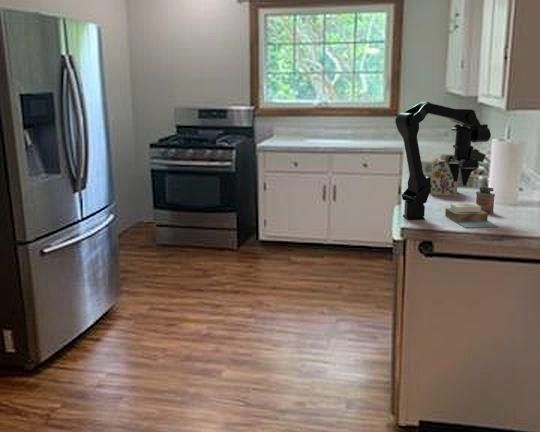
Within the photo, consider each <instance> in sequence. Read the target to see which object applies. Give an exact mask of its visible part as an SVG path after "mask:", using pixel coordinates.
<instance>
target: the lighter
mask: <svg viewBox="0 0 540 432" xmlns="http://www.w3.org/2000/svg"><path fill="white" fill-rule="evenodd" d="M478 188H479V189H478V191H476V197H475V198H476V199H475V204H477V205H479V206H481V210H482V211H484V212H486V213H488V215H489V214H490V215H491V214H494V212H495V211H494V205H495V197H496V194H495V193H492V192H494V191H495V190H494V188H493V187H490V186H489V187H488V186H487V185H486V186H479V187H478Z"/></svg>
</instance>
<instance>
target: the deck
mask: <svg viewBox="0 0 540 432" xmlns="http://www.w3.org/2000/svg"><path fill="white" fill-rule="evenodd" d="M444 216H445V217H446V218H448V219H449V220H451V221H452V222H454V223H456V222H455V221H488V217H489V214H488V213H486V212H484V211H482V210H480V212H455V211H453V210H452V209H451V207H450V208H448V207H447V208H445V214H444Z"/></svg>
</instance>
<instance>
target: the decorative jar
mask: <svg viewBox="0 0 540 432" xmlns="http://www.w3.org/2000/svg"><path fill="white" fill-rule="evenodd" d="M447 155H449V154H446V153H445V154H440V157H436V158H433V159H432V162H431V174H430V180H431V186H432V188H431V193H430V194H429V196H444V197H445V196H446V197H458V186H459V183H458V182H459V179H458V180H457V182H454V180H453V177H452V175H451V172H450V170H449V167H448V165H447V163H448V162H445V159H446V156H447Z"/></svg>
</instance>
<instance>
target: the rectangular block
mask: <svg viewBox="0 0 540 432" xmlns="http://www.w3.org/2000/svg"><path fill="white" fill-rule="evenodd" d="M450 208H451V209H452V210H453V211H455V212H480V210H481V206H479V205H477V204H476V202H475V203H474V202H470V203H469V202H467V203H466V202H465V203H462V202H461V203H450Z"/></svg>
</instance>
